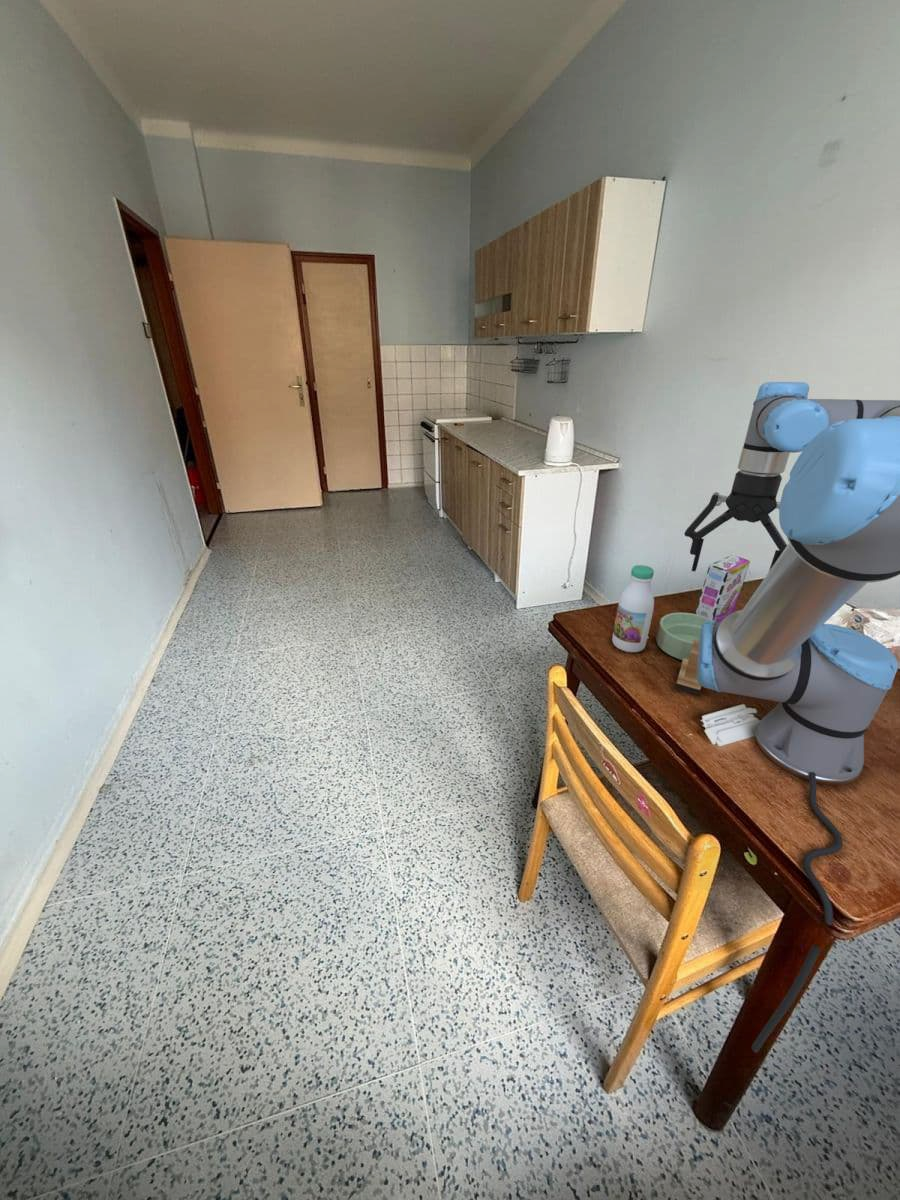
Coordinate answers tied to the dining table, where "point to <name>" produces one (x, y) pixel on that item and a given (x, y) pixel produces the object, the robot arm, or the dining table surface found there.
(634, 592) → the milk bottle
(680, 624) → the bowl
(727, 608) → the candy bar box
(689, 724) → the dining table surface
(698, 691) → the brush
